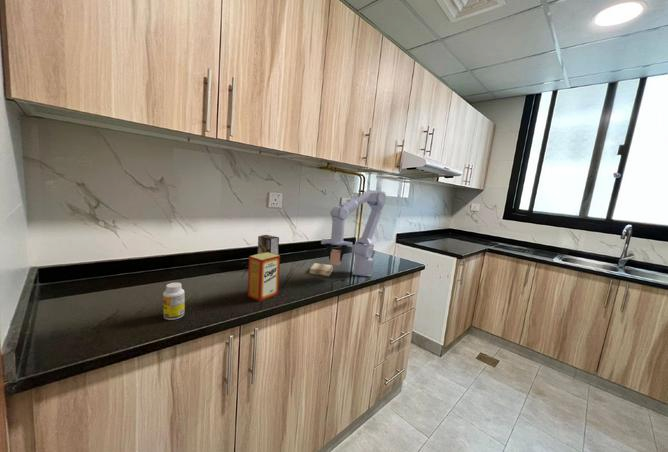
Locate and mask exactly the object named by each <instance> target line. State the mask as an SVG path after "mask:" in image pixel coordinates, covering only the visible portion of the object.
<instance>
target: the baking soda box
mask: <svg viewBox="0 0 668 452" xmlns="http://www.w3.org/2000/svg"><path fill="white" fill-rule="evenodd" d="M280 264H281V255H279V254H278V255H277V254H273V253H269V252H267V253H262V254H258V253H257V254H256V253H255V254H253V255H250V256H248V278H247V279H248V281H247V297H248V298H251V299H252V300H255V301H257V302H262V301H265V300H266V299H269V298H271V297H273V296H276V295H278V294H279V286H280V283H279V282H280Z"/></svg>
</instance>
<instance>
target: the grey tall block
mask: <svg viewBox="0 0 668 452" xmlns="http://www.w3.org/2000/svg"><path fill="white" fill-rule="evenodd" d="M279 244H280V237H278V236H276V235H275V236H274V235H270V234H261V235H258V237H257V254H262V253H267V252H269V253H273V254H277V255H279V248H280V247H279Z"/></svg>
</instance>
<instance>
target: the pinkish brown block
mask: <svg viewBox="0 0 668 452" xmlns="http://www.w3.org/2000/svg"><path fill="white" fill-rule="evenodd" d="M340 256H341V249H340V250H339V249H332V251H331V256H330V260H329V265H333V266H340V265H341V262H342V261H340Z"/></svg>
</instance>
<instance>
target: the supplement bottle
mask: <svg viewBox="0 0 668 452" xmlns="http://www.w3.org/2000/svg"><path fill="white" fill-rule="evenodd" d="M182 287H183V286H182V283H181V282H171V283H168V284H166V285H165V291H163V292H162V298H163V299H162V303H163V305H162V307H163V309H162V311H163V318H164V319H165V320H168V321H174V320H178V319H180V318H182V317H183V316H185V311H186V310H185V307H186V306H185V300H186V299H185V297H186V296H185V290H184V289H183V288H182Z"/></svg>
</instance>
